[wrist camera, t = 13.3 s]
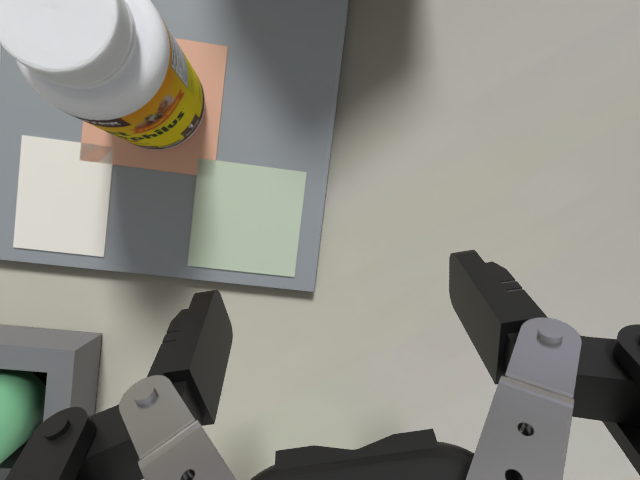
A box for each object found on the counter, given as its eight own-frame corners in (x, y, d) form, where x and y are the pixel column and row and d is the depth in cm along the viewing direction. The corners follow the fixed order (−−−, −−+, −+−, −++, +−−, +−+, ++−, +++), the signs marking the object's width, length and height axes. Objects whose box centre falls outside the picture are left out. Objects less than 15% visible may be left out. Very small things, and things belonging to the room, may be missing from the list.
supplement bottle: (121, 160, 22) (-19, 113, 12) (98, 63, 22) (-67, -71, 12) (217, 142, 23) (160, 82, 12) (196, 46, 22) (120, -97, 12)
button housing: (102, 333, 23) (75, 350, 20) (90, 459, 24) (62, 494, 21) (-39, 321, 23) (-89, 337, 20) (-48, 451, 23) (-99, 486, 20)
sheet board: (348, -2, 23) (349, -8, 23) (313, 290, 24) (313, 292, 24) (17, -59, 22) (8, -68, 21) (-7, 256, 23) (-16, 258, 22)
